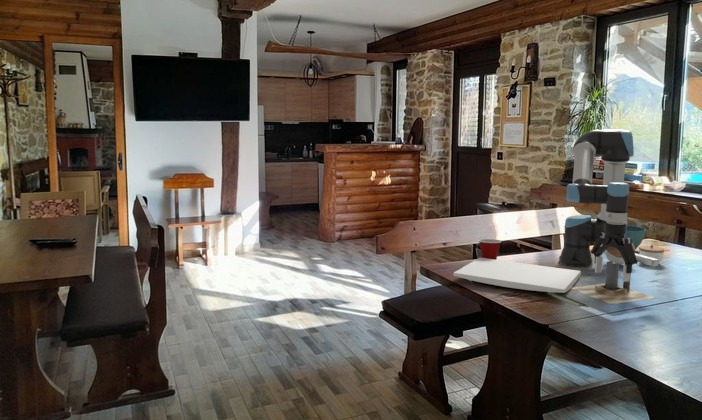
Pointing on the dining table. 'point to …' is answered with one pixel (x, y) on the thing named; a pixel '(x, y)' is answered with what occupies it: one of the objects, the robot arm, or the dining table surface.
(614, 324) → the dining table surface
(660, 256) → the lidded jar
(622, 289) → the socket plate
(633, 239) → the plant pot
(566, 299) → the pad
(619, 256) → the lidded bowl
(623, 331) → the dining table surface
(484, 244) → the plastic cup
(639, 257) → the latch
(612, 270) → the peg
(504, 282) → the board
